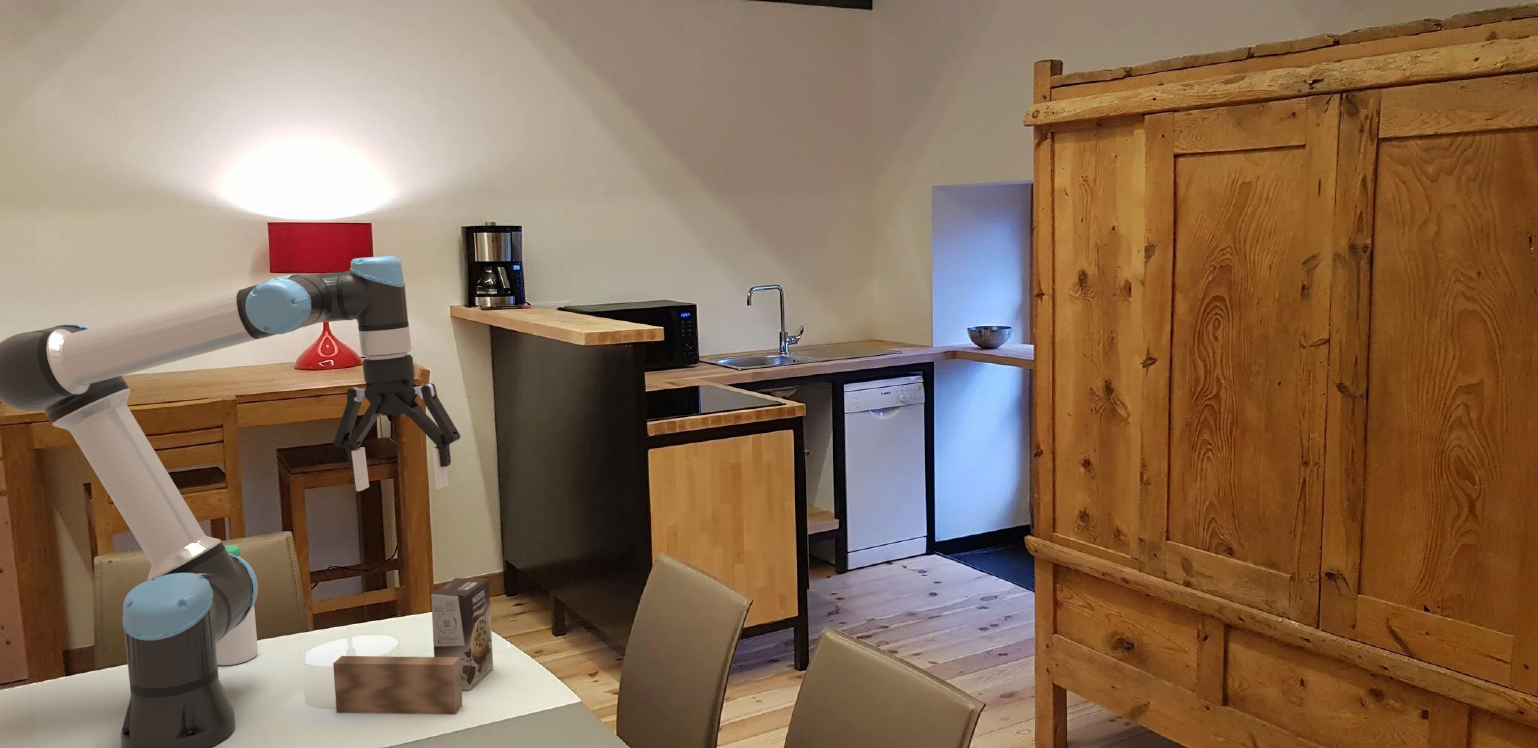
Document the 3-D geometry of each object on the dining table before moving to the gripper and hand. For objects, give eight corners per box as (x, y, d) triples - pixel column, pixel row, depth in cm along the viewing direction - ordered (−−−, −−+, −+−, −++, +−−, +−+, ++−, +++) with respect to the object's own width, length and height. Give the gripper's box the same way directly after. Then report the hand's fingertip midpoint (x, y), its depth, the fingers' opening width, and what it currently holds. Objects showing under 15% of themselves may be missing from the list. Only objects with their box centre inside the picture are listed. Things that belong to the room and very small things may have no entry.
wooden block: (336, 712, 177) (333, 663, 176) (344, 704, 180) (341, 656, 179) (455, 714, 176) (453, 665, 175) (462, 705, 179) (459, 657, 178)
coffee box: (470, 691, 185) (465, 595, 182) (434, 688, 186) (429, 593, 184) (495, 669, 193) (490, 578, 191) (460, 666, 195) (455, 576, 192)
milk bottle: (267, 655, 201) (258, 545, 198) (226, 670, 195) (217, 557, 192) (241, 646, 205) (232, 539, 202) (200, 661, 199) (190, 550, 196)
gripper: (472, 348, 179) (486, 480, 182) (326, 355, 183) (342, 484, 186) (451, 355, 171) (466, 492, 175) (300, 362, 176) (317, 495, 179)
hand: (402, 488), depth 180 cm, fingers open, 13 cm apart
